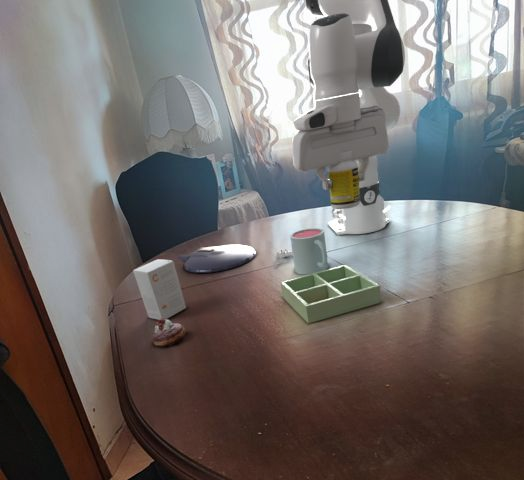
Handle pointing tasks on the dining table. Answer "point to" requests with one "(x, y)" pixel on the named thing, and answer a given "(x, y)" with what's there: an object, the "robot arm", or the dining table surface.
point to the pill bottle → (344, 182)
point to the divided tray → (330, 293)
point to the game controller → (284, 254)
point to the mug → (309, 251)
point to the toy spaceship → (217, 258)
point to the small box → (160, 289)
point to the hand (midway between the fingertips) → (343, 185)
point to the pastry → (167, 333)
